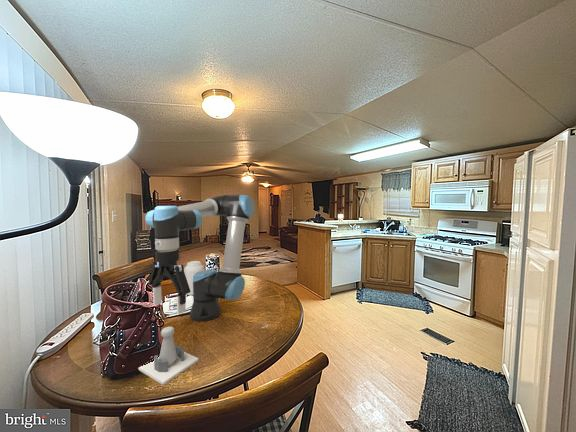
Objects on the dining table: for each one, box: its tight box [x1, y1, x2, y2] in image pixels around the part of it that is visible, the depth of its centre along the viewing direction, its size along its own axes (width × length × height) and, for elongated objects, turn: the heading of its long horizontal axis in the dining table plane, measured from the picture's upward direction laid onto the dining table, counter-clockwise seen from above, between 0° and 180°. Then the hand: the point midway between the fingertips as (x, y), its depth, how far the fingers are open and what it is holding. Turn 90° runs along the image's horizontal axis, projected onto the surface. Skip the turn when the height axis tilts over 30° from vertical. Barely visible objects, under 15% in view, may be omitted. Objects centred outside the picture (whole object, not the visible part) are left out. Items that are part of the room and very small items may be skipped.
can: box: [184, 260, 205, 296], centre depth 158 cm, size 12×12×20 cm
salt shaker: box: [159, 326, 177, 367], centre depth 86 cm, size 6×6×13 cm
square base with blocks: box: [137, 345, 199, 386], centre depth 86 cm, size 14×14×4 cm
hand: (169, 308), depth 86 cm, fingers open, 13 cm apart
